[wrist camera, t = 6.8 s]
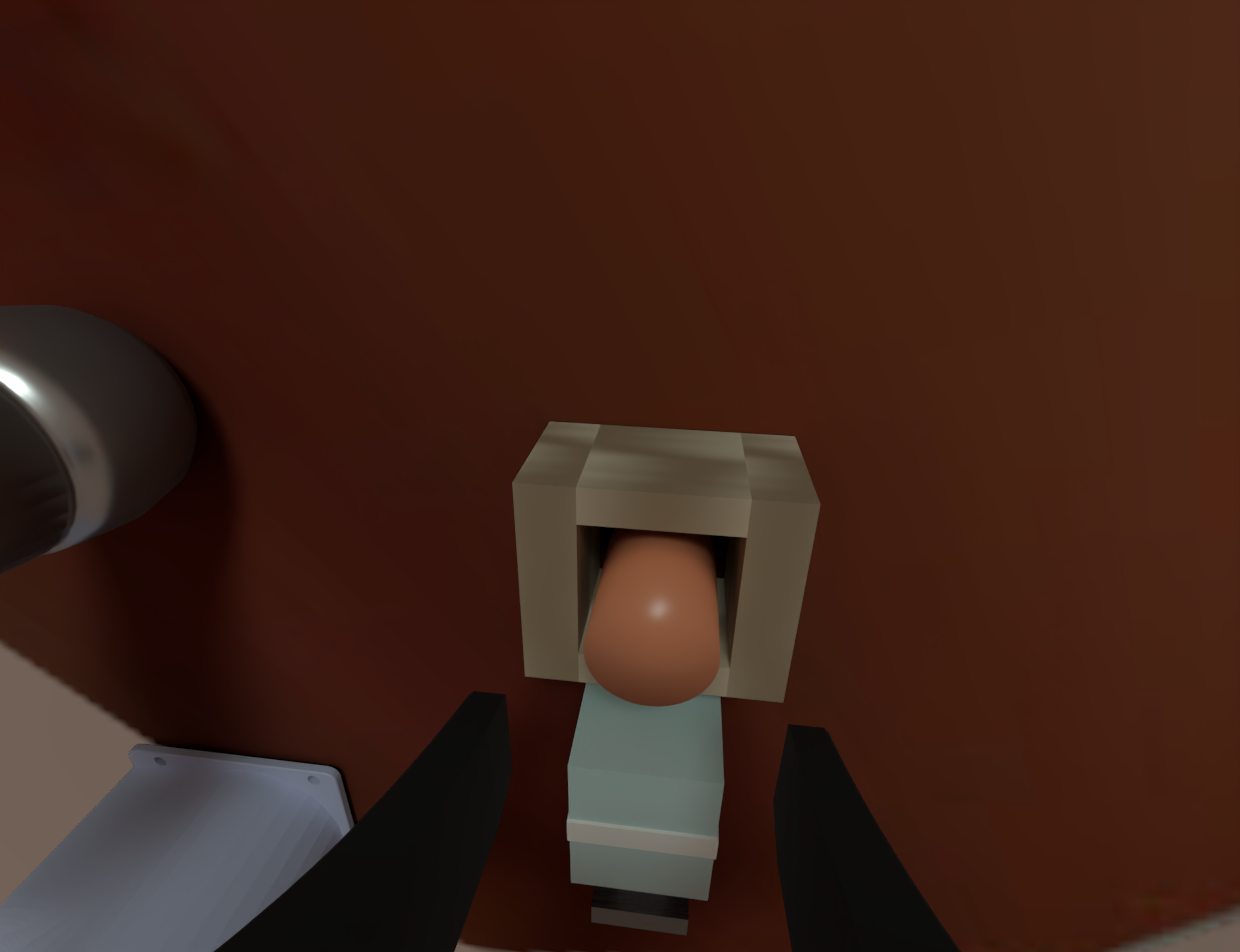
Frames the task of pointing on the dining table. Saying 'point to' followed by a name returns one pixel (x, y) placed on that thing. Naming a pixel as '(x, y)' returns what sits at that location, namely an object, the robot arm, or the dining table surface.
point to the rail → (640, 910)
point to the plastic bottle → (82, 429)
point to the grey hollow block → (673, 502)
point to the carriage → (645, 794)
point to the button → (655, 617)
